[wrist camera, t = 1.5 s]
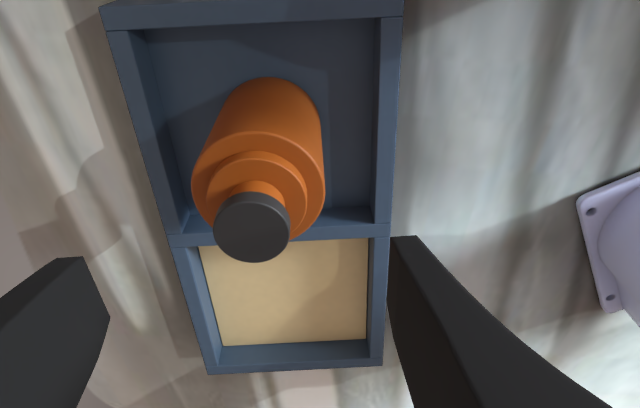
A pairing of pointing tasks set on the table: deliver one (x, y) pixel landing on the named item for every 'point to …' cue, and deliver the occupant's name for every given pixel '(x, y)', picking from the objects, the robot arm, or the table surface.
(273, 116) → the bottle
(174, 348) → the table surface
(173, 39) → the tray
